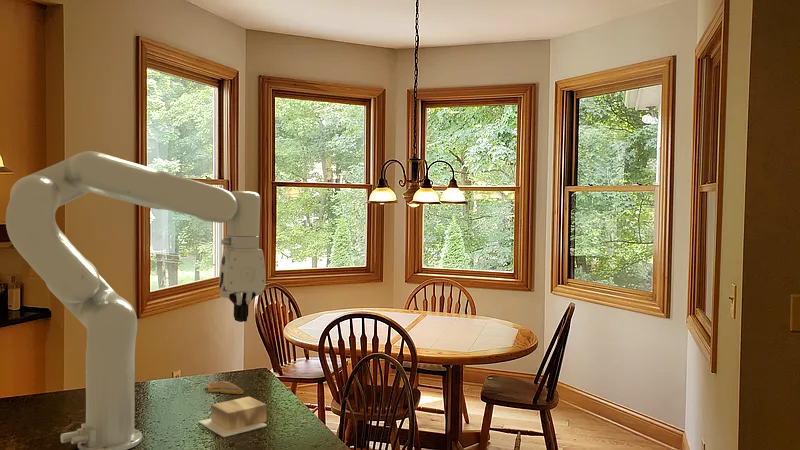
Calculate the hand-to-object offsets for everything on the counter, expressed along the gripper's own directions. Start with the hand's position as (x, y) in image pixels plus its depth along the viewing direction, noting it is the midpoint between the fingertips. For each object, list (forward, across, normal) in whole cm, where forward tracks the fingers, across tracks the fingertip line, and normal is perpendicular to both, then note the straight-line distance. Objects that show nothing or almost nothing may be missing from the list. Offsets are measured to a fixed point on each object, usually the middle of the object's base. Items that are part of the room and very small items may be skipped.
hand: (240, 320), depth 155 cm
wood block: (+21, +4, -2) cm, 22 cm away
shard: (+24, +10, +24) cm, 36 cm away
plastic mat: (+24, -2, -2) cm, 24 cm away
